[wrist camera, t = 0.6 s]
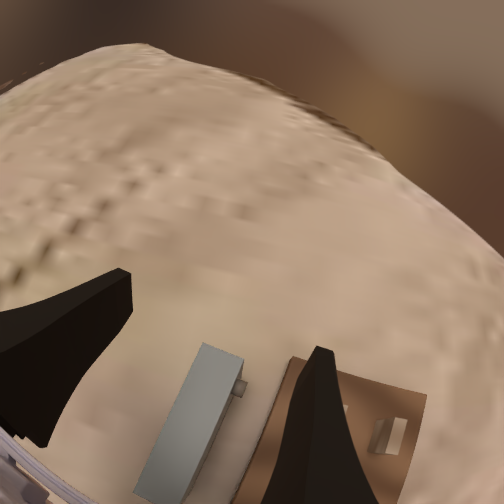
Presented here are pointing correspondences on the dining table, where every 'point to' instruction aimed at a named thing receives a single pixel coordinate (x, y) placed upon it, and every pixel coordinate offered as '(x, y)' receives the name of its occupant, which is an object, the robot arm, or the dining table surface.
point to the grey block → (191, 426)
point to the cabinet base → (361, 429)
